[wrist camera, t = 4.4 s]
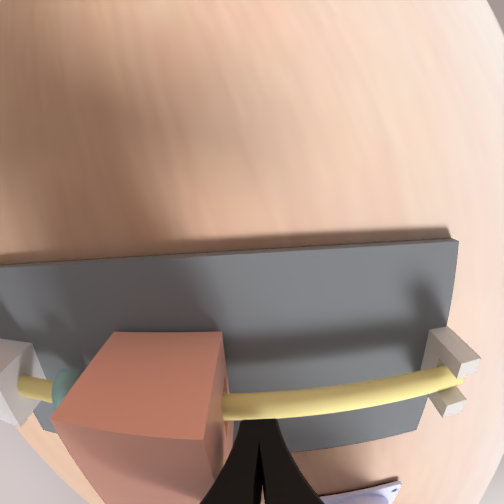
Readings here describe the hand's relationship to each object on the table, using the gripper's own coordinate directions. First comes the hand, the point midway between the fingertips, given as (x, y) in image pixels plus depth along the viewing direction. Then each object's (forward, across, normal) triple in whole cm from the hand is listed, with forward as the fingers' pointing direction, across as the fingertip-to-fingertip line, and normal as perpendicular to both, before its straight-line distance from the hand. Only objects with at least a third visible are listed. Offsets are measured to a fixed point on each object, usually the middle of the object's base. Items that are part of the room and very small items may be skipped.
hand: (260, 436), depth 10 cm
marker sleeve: (+4, +4, 0) cm, 6 cm away
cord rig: (+4, +2, 0) cm, 5 cm away
